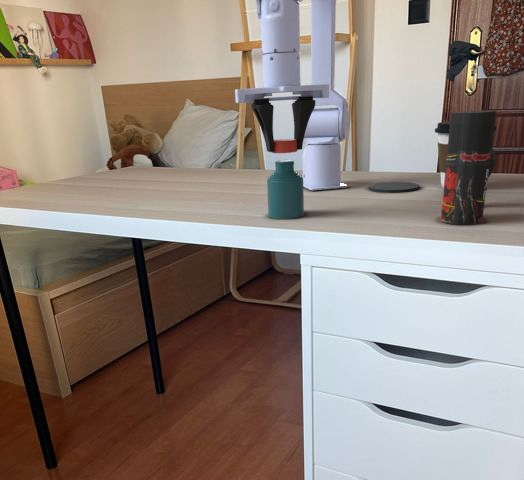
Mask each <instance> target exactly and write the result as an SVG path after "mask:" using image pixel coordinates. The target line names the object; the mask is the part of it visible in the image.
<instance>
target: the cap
mask: <svg viewBox="0 0 524 480" xmlns="http://www.w3.org/2000/svg"><path fill="white" fill-rule="evenodd" d="M296 152H298V150H297V139H294V138H278V139H274V152H271V153H272V154H291V153H296Z"/></svg>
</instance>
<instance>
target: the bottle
mask: <svg viewBox="0 0 524 480" xmlns="http://www.w3.org/2000/svg"><path fill="white" fill-rule="evenodd" d="M294 161H295V160H294V159H277V160H275V161H274V164H275V165H274V166H275V170H274V171H273V172H272V173H271V174H270V175H269V176H268V177H267V179H266V189H267V191H266V193H267V210H268V211H267V213H268V217H269V218H271V219H275V220H290V219H291V220H293V219H298V218H301V217H303V216H304V215H305V206H304V205H305V204H304V203H305V201H304V196H305V195H304V187H303V174H300V173H299V172H298V171H296V169H295V162H294Z"/></svg>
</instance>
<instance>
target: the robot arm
mask: <svg viewBox="0 0 524 480" xmlns="http://www.w3.org/2000/svg"><path fill="white" fill-rule="evenodd" d="M302 2H303V0H255V5H256V14H257V19H258V20H260V37H261V40H260V41H261V55H262V56H261V58H262V59H261V60H262V76H263V77H262V79H263V81H262V83H263V87H252V88H251V87H250V88H236V89H234V98H235V99H234V100H235V104H245V103H251V104H250V105H251V110H252V112H253V114H254V115H255V118H256V120H257V122H258V125H259V128H260V130H261V132H262V136H263V139H264V143H265V148H266V152H267V153H272V152H274V140H275V138H274V109H275V108H274V107H275V106H274V105H273V104H272V102H277V101H278V102H279V101H294V102H292V103H291V109H292V116H293V139H297V151H300V150H303V145H305V148H304V150H303V153H302V177H303V188H305V189H307V190H309V191H324V190H334V189H344V188H348V184H346V183H342V182H341V172H342V171H341V169H342V167H341V166H342V165H341V164H342V162H341V160H342V142H344V140H346V139H347V137H348V136H349V132H350V131H349V130H350V114H349V113H350V112H349V102H348V99H347V98H346V97H345V96H344V95H343V94H342V93H340V92H339V91H337V89H336V88H335V84H336V83H335V82H336V81H335V80H336V18H337V17H336V16H337V15H336V12H337V11H336V10H337V7H336V6H337V0H310V84H306V85H305V84H304V85H302V80H301V79H302V78H301V76H302V75H301V74H302V73H301V27H300V26H301V23H300V20H301V19H300V18H301V17H300V3H302ZM283 93H292V96H291V95H289V96H273V94H283ZM318 106H335V107H322V108H315V107H318Z"/></svg>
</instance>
